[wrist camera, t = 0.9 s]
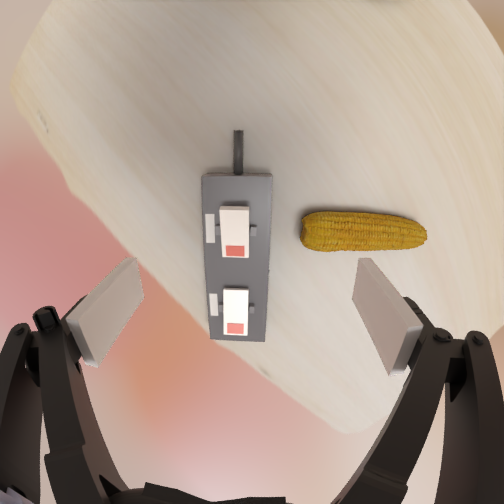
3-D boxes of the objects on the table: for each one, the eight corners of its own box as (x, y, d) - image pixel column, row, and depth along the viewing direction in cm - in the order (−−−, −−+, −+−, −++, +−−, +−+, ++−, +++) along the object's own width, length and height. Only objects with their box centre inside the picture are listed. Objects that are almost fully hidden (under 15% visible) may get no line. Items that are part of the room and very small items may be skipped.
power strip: (207, 132, 35) (199, 130, 30) (272, 132, 35) (273, 129, 30) (214, 324, 47) (209, 343, 42) (264, 327, 47) (264, 345, 42)
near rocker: (219, 206, 33) (217, 210, 32) (250, 206, 33) (250, 211, 32) (222, 252, 37) (221, 257, 36) (250, 253, 37) (249, 258, 36)
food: (298, 243, 41) (303, 258, 35) (299, 206, 39) (305, 217, 33) (416, 243, 40) (434, 256, 35) (421, 211, 38) (440, 221, 32)
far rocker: (223, 287, 39) (222, 289, 38) (249, 288, 39) (249, 290, 38) (223, 331, 40) (222, 334, 39) (248, 332, 40) (248, 336, 39)
